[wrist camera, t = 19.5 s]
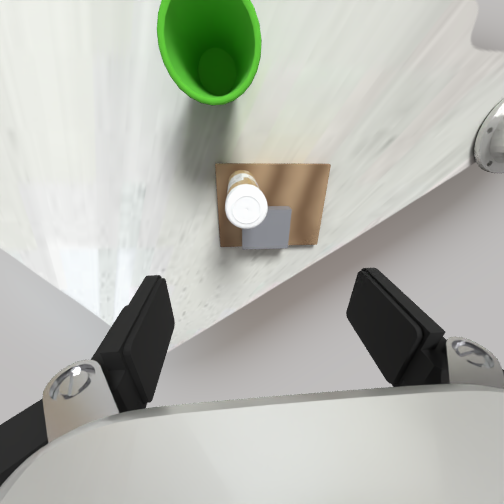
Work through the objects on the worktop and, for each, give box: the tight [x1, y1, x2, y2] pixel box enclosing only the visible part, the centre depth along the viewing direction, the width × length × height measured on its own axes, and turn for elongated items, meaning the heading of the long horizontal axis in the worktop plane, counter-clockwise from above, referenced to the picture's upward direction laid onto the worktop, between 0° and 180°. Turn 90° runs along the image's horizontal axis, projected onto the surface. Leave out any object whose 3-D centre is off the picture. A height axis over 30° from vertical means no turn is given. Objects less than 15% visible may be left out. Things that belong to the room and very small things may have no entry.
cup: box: [157, 0, 261, 105], centre depth 24 cm, size 9×9×11 cm
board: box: [215, 163, 331, 247], centre depth 37 cm, size 18×14×1 cm
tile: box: [242, 206, 292, 249], centre depth 37 cm, size 2×7×8 cm
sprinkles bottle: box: [225, 170, 268, 229], centre depth 28 cm, size 5×5×14 cm
